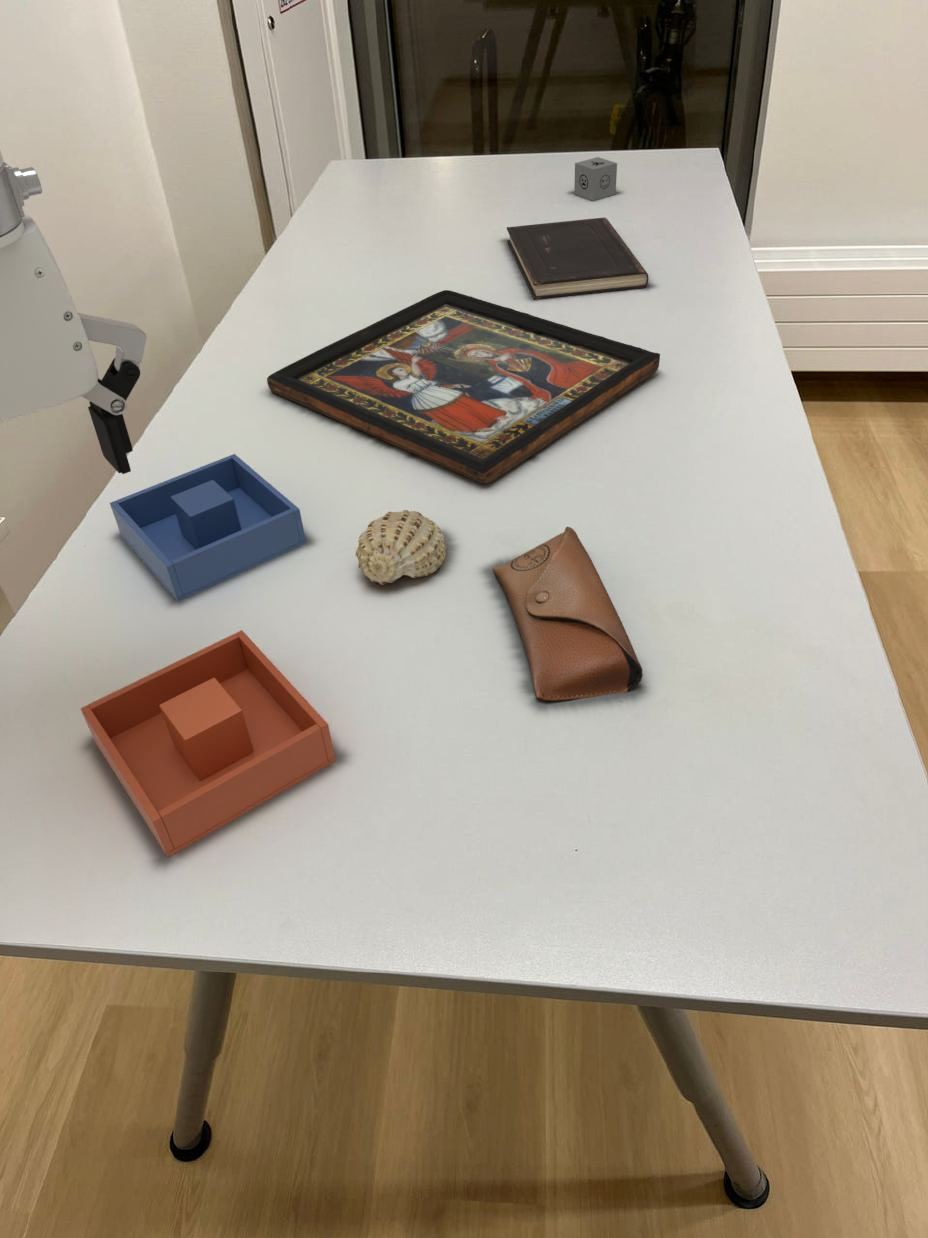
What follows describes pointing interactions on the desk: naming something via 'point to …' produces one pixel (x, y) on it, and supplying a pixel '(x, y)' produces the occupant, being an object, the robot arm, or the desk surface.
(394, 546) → the seashell
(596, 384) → the framed icon painting
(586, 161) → the dice cube
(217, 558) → the blue bin
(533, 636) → the sunglasses case
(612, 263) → the hardcover book
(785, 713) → the desk surface
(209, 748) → the terracotta block
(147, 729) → the terracotta bin
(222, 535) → the blue block
